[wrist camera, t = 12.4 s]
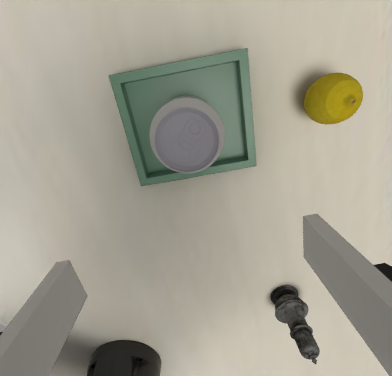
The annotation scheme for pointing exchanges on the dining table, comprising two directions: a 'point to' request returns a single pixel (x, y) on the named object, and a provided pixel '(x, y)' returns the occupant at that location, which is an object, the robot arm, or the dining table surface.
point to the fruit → (333, 98)
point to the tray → (196, 86)
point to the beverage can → (187, 134)
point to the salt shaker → (295, 319)
